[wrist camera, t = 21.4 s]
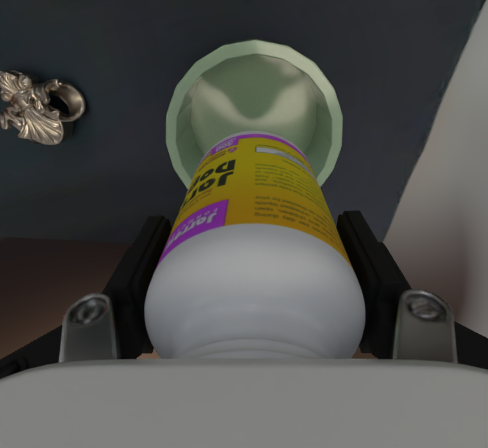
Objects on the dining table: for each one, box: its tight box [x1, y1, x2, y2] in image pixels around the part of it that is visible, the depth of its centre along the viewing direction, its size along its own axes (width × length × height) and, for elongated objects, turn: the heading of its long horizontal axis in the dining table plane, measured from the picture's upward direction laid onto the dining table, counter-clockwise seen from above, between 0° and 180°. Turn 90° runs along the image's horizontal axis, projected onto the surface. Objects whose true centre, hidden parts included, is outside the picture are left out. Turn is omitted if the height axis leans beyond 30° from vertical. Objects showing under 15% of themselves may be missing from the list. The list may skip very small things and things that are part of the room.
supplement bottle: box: [144, 131, 365, 359], centre depth 11 cm, size 7×7×13 cm
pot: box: [166, 38, 343, 189], centre depth 26 cm, size 14×14×7 cm
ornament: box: [0, 69, 86, 145], centre depth 27 cm, size 8×7×4 cm
